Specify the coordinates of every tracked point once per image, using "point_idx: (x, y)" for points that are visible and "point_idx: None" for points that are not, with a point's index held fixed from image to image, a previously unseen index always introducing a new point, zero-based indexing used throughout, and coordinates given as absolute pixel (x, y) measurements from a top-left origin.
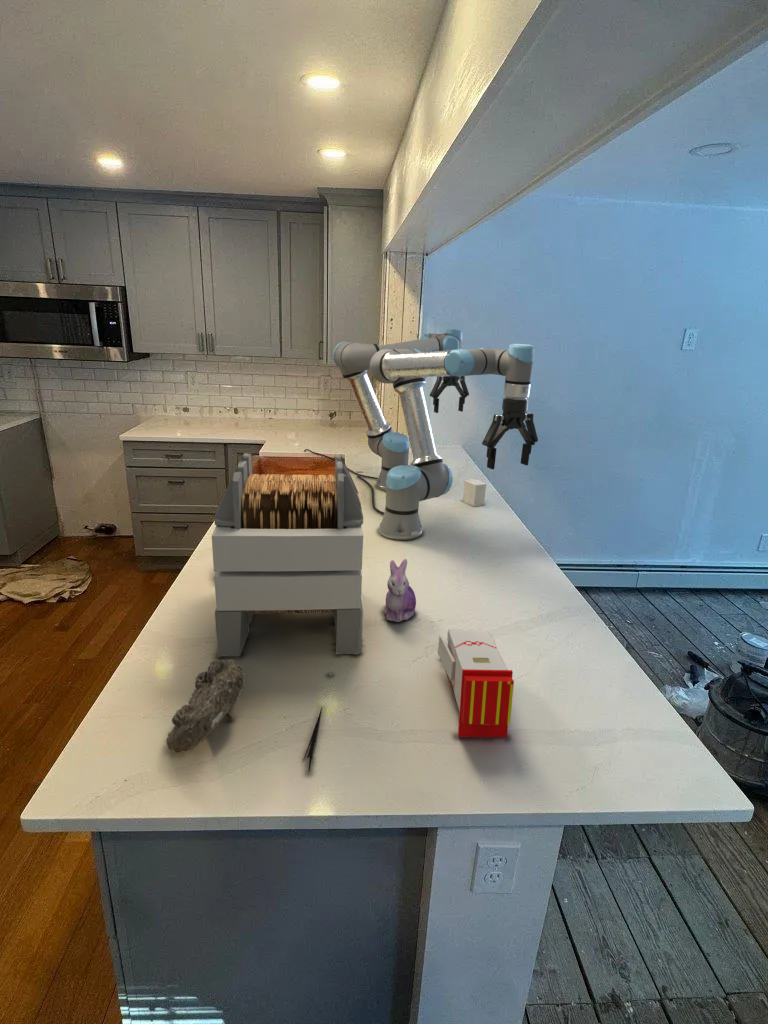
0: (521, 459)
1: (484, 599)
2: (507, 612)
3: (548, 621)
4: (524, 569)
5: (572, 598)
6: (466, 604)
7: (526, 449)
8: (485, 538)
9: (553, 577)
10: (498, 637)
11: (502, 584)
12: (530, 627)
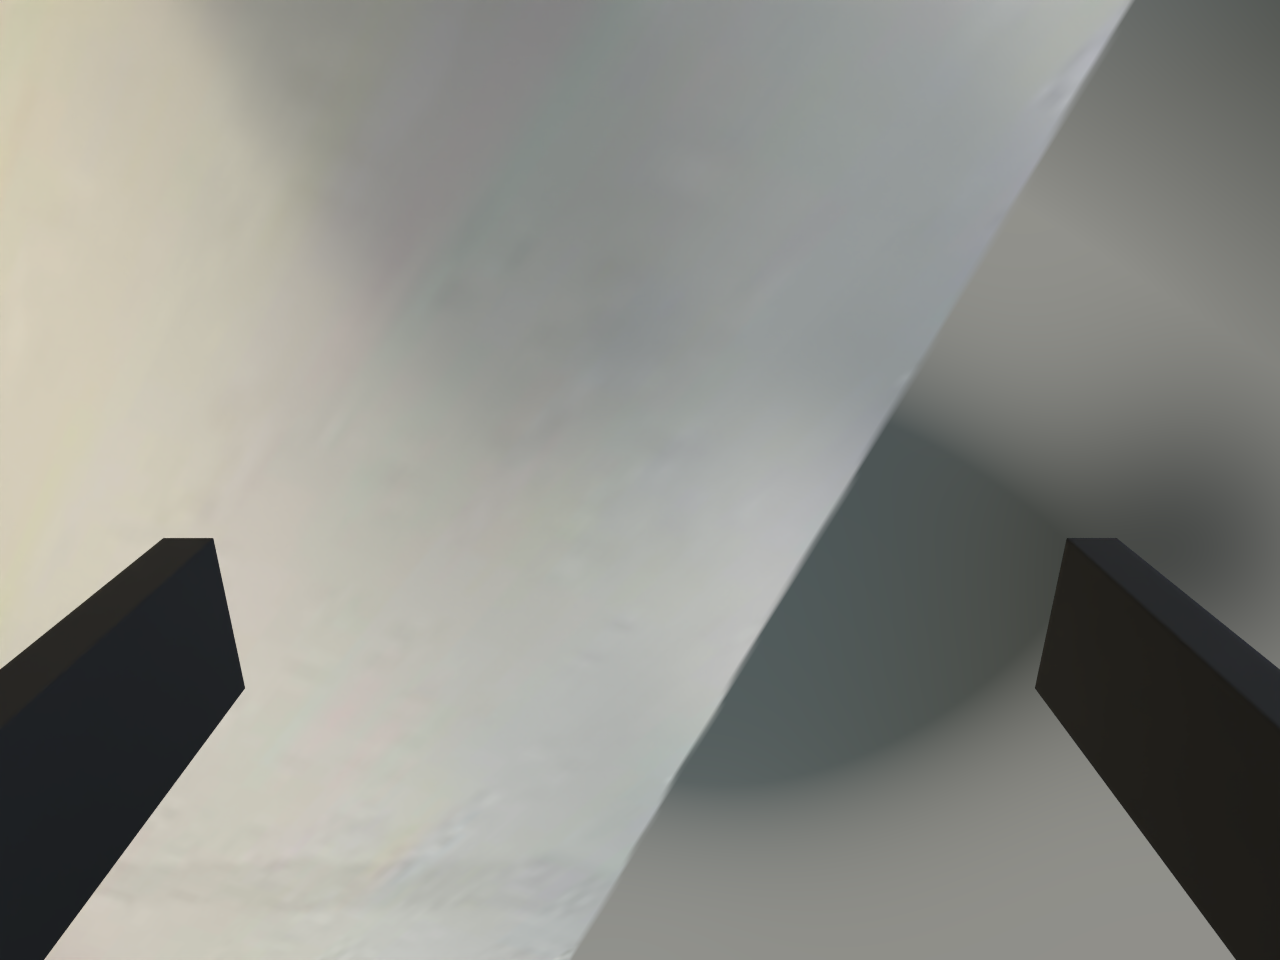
0: (1109, 597)
1: (244, 696)
2: (286, 805)
3: (406, 899)
4: (642, 540)
5: (636, 824)
6: None
7: (1263, 917)
8: (746, 23)
9: (716, 662)
10: (156, 905)
11: (413, 622)
12: (312, 902)
